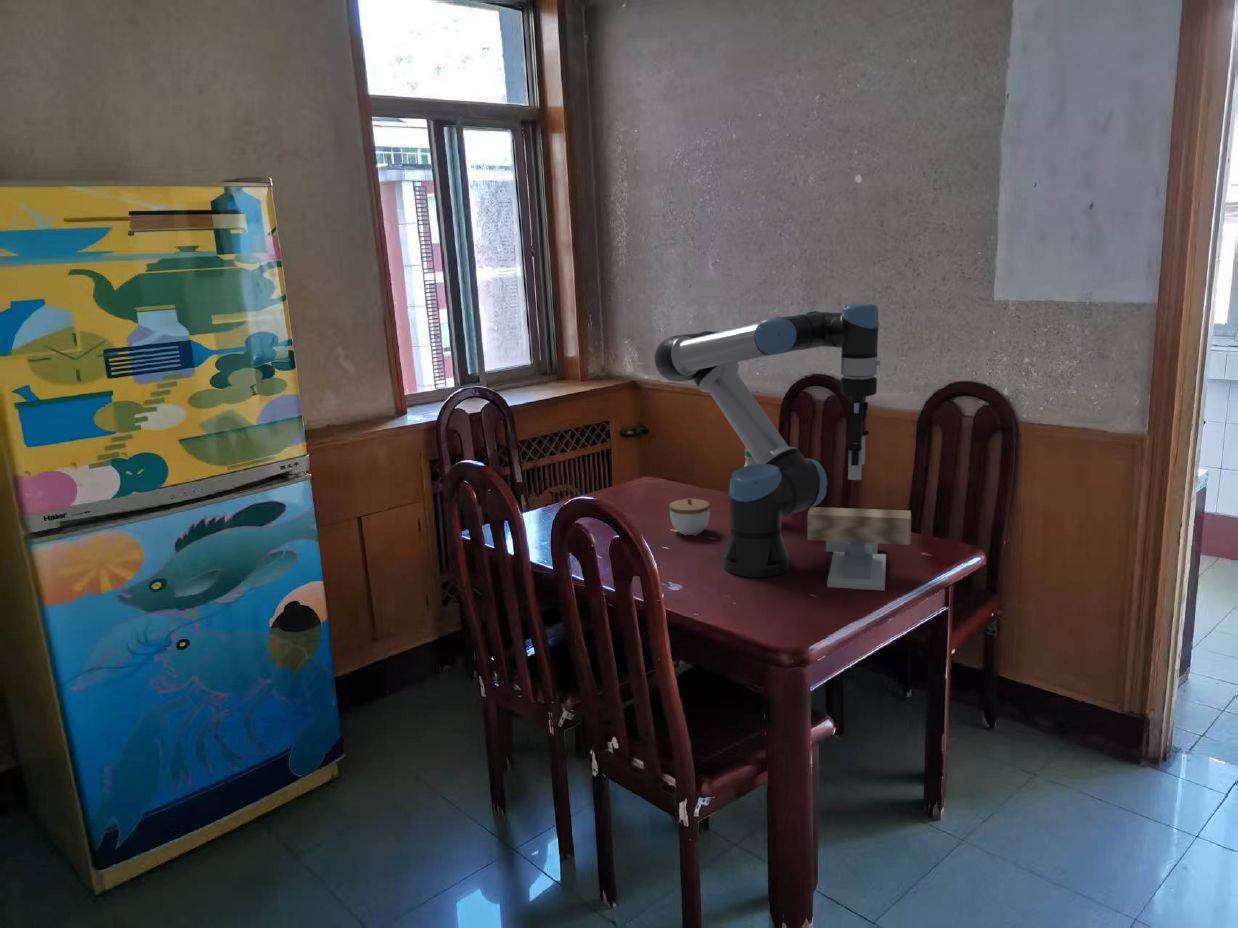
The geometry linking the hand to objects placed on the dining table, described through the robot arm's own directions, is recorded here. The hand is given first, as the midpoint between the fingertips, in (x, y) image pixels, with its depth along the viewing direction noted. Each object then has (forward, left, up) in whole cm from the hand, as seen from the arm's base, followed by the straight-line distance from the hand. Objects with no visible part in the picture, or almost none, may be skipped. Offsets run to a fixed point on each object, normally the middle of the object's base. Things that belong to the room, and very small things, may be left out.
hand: (856, 471), depth 195 cm
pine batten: (+1, -1, -15) cm, 15 cm away
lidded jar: (-43, +22, -24) cm, 54 cm away
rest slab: (-1, +14, -23) cm, 27 cm away
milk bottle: (-28, +35, -24) cm, 51 cm away
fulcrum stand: (+1, -1, -23) cm, 23 cm away
